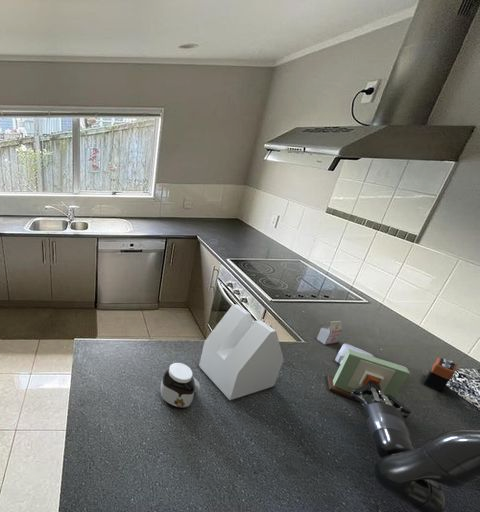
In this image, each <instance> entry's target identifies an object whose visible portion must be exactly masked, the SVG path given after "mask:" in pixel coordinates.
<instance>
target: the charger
mask: <svg viewBox="0 0 480 512" xmlns="http://www.w3.org/2000/svg"><path fill="white" fill-rule="evenodd" d="M348 349H350V350H353V351H356V352H360V353H363V354H366V355H369V356H372V357H375V356H374V354H372V353H370V352H368V351H366V350H364V349H361V348H359V347H356V346H354V345H352V344H349V343H343V344H342V345H341V347H340V349H339V350H338V353H337V354H336V356H335V359H334V361H335V362H336V363H338V364H339V366H340V365H341V362H342V360H343V358H344V356H345V354H346V352H347V350H348Z"/></svg>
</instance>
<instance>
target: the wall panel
mask: <svg viewBox="0 0 480 512" xmlns="http://www.w3.org/2000/svg"><path fill="white" fill-rule="evenodd" d="M410 374H411V373H410V371H409V369H408V368H407V366H404V365H401V364H397V363H394V362H391V361H388V360H385V359H383V358H379V357H375V356H374V357H372V356H369V355H366V354H363V353H360V352H356V351H353V350H350V349H348V350H347V352H346V354H345V356H344V358H343V360H342V362H341V365H340V364H339V367H338V369H337V371H336V373H335V375H334V376H333V375H330V374H327V377H326V378H327V384H328V390H329V391H330V392H332V393H335V394H338V395H341V396H343V397H346V398H349V399H352V400H354V401H356V402H358V403H360V402H361V401H359V400H358V399H357V398H355V399H353V398H351V397H350V395H351V393H352V391H353V390H354V389H356V388H359V387H362V386H364V381H365V379H366V377H367V375H369V376H372V377H375V378H378V379H379V380H380V382H379V383H378V385H379V386H380V388H381V390H382V391H383V392H384V394H386V395H387V394H389V395H391V396H393V397H394V398H395V399H396V397H397V395H398V393H399V392H400V390H401V389H402V387H403V385H404V383H405V382H406V380H407V379H408V377H409V375H410ZM366 396H368V394H365V395H363V396H362V397H363V398H364V397H366ZM390 402H391V403H392V404H393V401H390Z"/></svg>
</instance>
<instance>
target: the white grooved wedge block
mask: <svg viewBox="0 0 480 512" xmlns="http://www.w3.org/2000/svg"><path fill="white" fill-rule="evenodd" d="M226 311H227V312H225V314H224V315H223V317H222V318H221V319H220V320H219V322H218V323H217V324H216V326H215V327H214V328H213V330H212V331H211V332H210V333H209V335H208V336H207V337H206V338H205V340H204V342H203V346H202V351H201V354H200V355H201V356H200V359H199V362H198V367H199V368H200V369H201V370H202V371H203V373H204V374H205V375H206V376H207V377H208V378H209V379H210V380H211V382H213V384H215V386H216V387H217V388H218V389H219V390H220V391H221V392H222V393H223V395H224V396H225V397H226V398H227V399H228V400H229V401H233V400H235V399H239V398H241V397H244V396H247V395H248V396H249V395H250V394H254V393H257V392H261V391H264V390H267V389H269V388H273V387H275V384H276V382H277V379H278V376H279V375H280V371H281V369H282V366H283V363H284V361H285V359H284V355H283V351H282V348H281V343H280V340H279V337H278V333H277V330H275V329H274V328H272V327H271V326H270V325H269V324H267V323H265V322H264V321H262V320H261V319H256V320H255V321H254V319H253V318H252V314H251V313H250V312H249V311H248V310H247V309H245V308H243V307H242V306H240V305H239V304H237V303H236V304H232V305H231V306H230V308H229V309H228V310H226Z"/></svg>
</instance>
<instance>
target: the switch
mask: <svg viewBox="0 0 480 512" xmlns="http://www.w3.org/2000/svg"><path fill="white" fill-rule="evenodd" d="M370 380H371V381H374V382H377V384H378V383H379V382H380V380H379V379H378V378H375V377H372V376H369V375H367V377H366V379H365V381H364V386H366V385H367V383H368V381H369V382H370Z"/></svg>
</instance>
